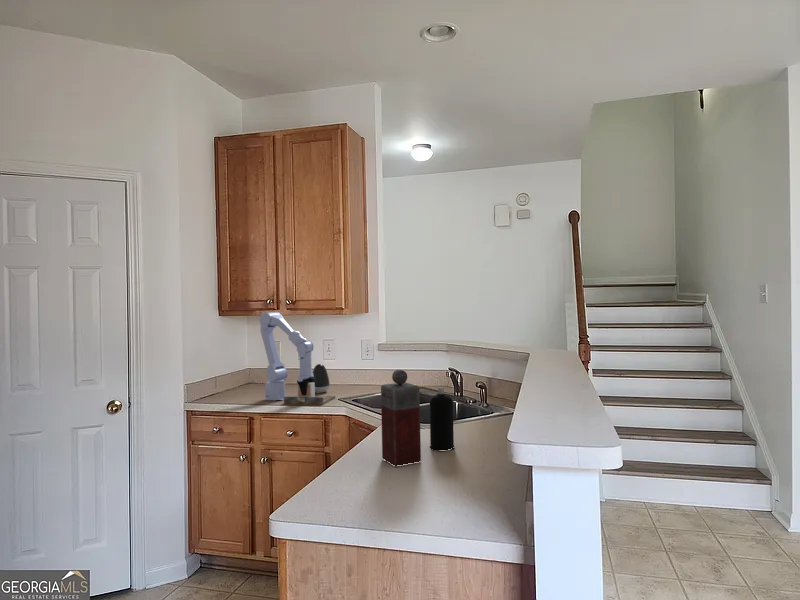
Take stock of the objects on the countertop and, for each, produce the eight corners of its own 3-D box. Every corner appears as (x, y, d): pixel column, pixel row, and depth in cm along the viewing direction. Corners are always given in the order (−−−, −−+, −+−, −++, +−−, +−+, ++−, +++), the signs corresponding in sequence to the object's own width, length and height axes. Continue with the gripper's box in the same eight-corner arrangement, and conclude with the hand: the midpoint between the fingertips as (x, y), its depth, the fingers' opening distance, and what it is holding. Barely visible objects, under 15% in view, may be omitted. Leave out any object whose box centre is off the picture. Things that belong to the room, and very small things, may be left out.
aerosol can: (459, 449, 174) (458, 388, 174) (438, 453, 170) (437, 390, 170) (445, 443, 181) (444, 384, 181) (425, 447, 177) (423, 387, 177)
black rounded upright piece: (331, 390, 290) (331, 362, 290) (327, 393, 279) (326, 365, 279) (313, 390, 291) (312, 362, 291) (308, 393, 280) (307, 365, 280)
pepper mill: (403, 453, 170) (402, 366, 170) (421, 462, 161) (419, 370, 160) (378, 457, 166) (376, 368, 166) (395, 467, 156) (393, 372, 156)
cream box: (301, 396, 262) (301, 382, 262) (314, 396, 261) (314, 382, 261) (297, 398, 257) (297, 383, 257) (311, 398, 256) (310, 384, 256)
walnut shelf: (283, 403, 255) (283, 396, 255) (298, 397, 272) (298, 390, 272) (322, 404, 250) (322, 397, 250) (335, 397, 267) (335, 391, 267)
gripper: (307, 368, 251) (307, 396, 251) (318, 364, 265) (319, 391, 265) (293, 368, 253) (294, 396, 253) (305, 364, 267) (306, 391, 267)
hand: (306, 393), depth 259 cm, fingers closed on cream box, 5 cm apart
